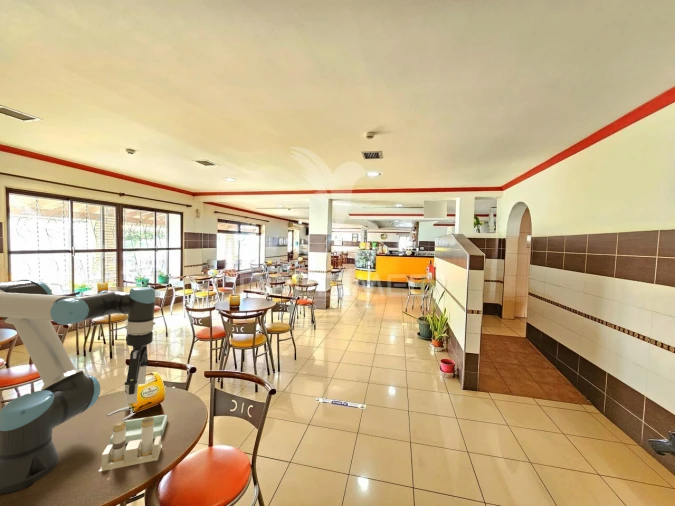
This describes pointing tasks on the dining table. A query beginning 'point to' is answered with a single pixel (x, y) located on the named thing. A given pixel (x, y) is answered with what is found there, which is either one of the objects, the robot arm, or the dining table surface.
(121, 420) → the pliers
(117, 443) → the fuse
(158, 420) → the parts tray
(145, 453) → the fuse
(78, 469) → the dining table surface
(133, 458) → the fuse holder
